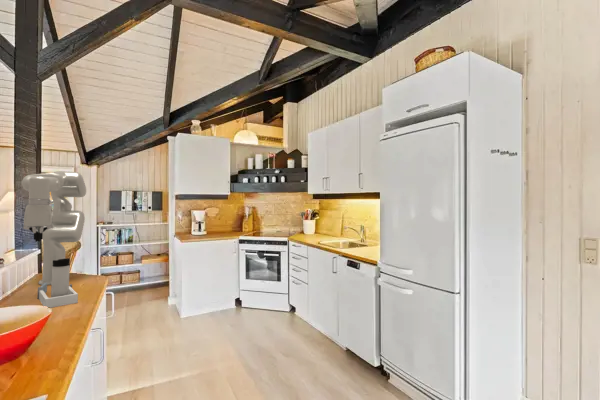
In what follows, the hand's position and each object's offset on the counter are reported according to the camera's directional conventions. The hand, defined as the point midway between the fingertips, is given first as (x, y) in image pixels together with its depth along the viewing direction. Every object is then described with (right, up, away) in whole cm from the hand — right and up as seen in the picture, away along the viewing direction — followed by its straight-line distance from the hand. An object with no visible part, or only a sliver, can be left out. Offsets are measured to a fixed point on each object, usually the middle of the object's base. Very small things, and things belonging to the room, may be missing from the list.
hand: (38, 241), depth 143 cm
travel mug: (+15, -27, -6) cm, 32 cm away
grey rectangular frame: (+13, -27, -4) cm, 30 cm away
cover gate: (0, -27, +2) cm, 27 cm away
